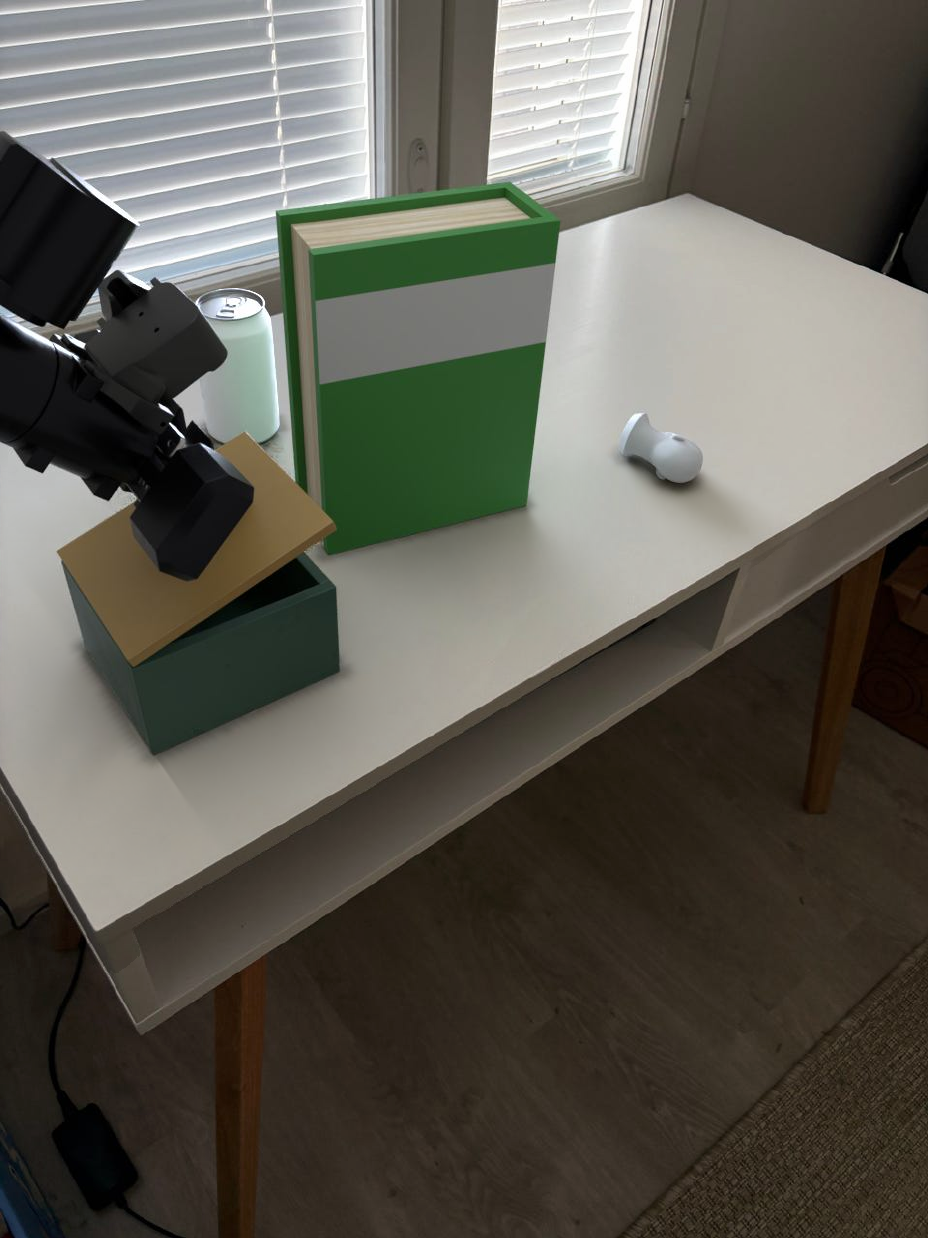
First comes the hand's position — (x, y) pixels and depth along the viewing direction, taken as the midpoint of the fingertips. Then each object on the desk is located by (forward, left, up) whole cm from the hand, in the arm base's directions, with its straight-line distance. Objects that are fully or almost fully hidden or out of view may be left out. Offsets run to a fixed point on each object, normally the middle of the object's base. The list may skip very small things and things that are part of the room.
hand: (243, 498), depth 63 cm
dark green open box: (-4, -1, -12) cm, 13 cm away
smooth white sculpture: (+38, +11, -12) cm, 42 cm away
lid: (-3, -1, -2) cm, 4 cm away
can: (+4, +27, -12) cm, 30 cm away
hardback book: (+15, +12, -12) cm, 23 cm away
